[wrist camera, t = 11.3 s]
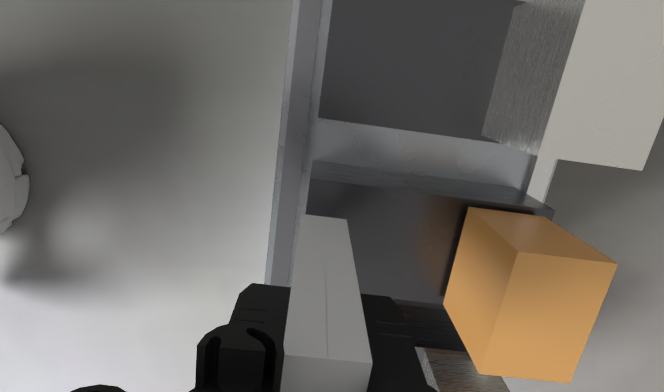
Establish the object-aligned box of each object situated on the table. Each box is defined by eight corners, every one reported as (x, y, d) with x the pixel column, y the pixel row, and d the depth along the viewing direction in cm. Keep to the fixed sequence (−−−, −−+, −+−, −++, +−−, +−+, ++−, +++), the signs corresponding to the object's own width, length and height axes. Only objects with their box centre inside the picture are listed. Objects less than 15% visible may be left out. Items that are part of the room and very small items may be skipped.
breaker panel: (260, 357, 22) (221, 530, 13) (301, -39, 16) (276, -165, 7) (464, 378, 22) (546, 554, 14) (577, 7, 16) (830, -62, 8)
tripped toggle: (442, 303, 15) (479, 373, 11) (468, 206, 13) (518, 251, 10) (512, 311, 15) (569, 383, 11) (544, 216, 14) (618, 263, 10)
